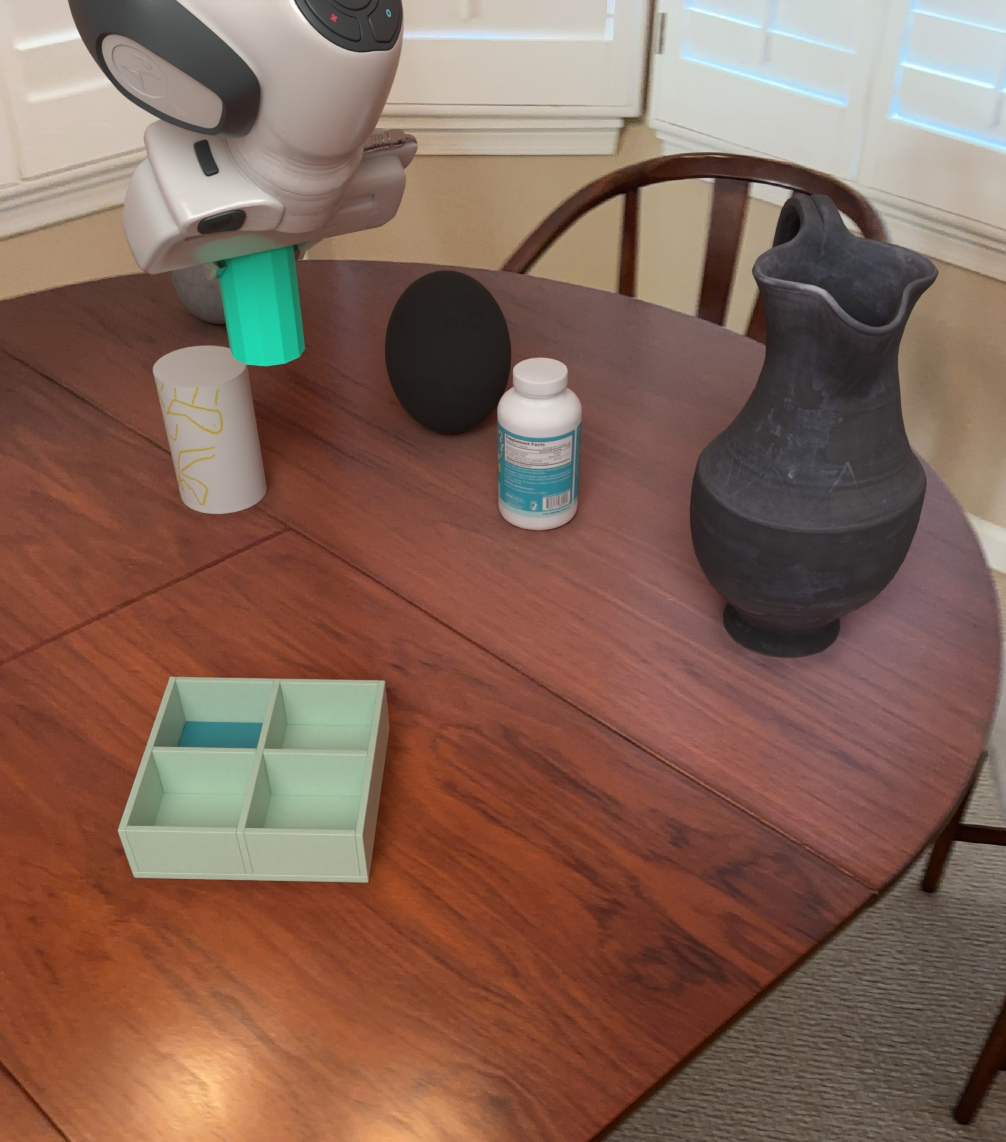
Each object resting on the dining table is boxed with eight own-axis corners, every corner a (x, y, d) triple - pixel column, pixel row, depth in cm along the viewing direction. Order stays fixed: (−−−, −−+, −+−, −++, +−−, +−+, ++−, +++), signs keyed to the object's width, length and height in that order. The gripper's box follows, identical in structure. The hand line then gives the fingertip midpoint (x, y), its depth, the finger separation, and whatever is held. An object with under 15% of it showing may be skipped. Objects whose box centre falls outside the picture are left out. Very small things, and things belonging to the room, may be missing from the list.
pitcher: (705, 698, 92) (770, 299, 70) (643, 552, 106) (681, 179, 84) (916, 676, 94) (1045, 281, 72) (828, 535, 108) (914, 166, 85)
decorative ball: (284, 319, 138) (271, 227, 131) (215, 347, 133) (198, 252, 126) (231, 295, 143) (216, 204, 135) (163, 321, 138) (143, 228, 130)
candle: (257, 328, 98) (234, 165, 89) (319, 342, 96) (301, 177, 87) (215, 356, 94) (186, 189, 85) (278, 372, 93) (256, 203, 84)
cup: (162, 496, 112) (133, 370, 103) (222, 460, 117) (199, 337, 108) (225, 523, 109) (200, 396, 100) (284, 485, 113) (265, 360, 104)
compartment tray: (133, 878, 80) (117, 830, 76) (182, 724, 90) (169, 676, 87) (368, 883, 79) (362, 835, 76) (389, 728, 90) (385, 680, 86)
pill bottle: (522, 484, 114) (524, 342, 104) (590, 504, 111) (599, 361, 101) (482, 520, 109) (481, 376, 99) (553, 542, 107) (558, 397, 97)
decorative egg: (520, 404, 124) (522, 252, 113) (499, 463, 116) (499, 305, 105) (405, 394, 126) (396, 243, 115) (377, 452, 118) (364, 295, 106)
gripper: (408, 81, 81) (356, 195, 94) (120, 129, 74) (106, 244, 87) (441, 174, 82) (386, 273, 95) (160, 229, 75) (141, 329, 88)
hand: (250, 260), depth 91 cm, fingers closed on candle, 5 cm apart
